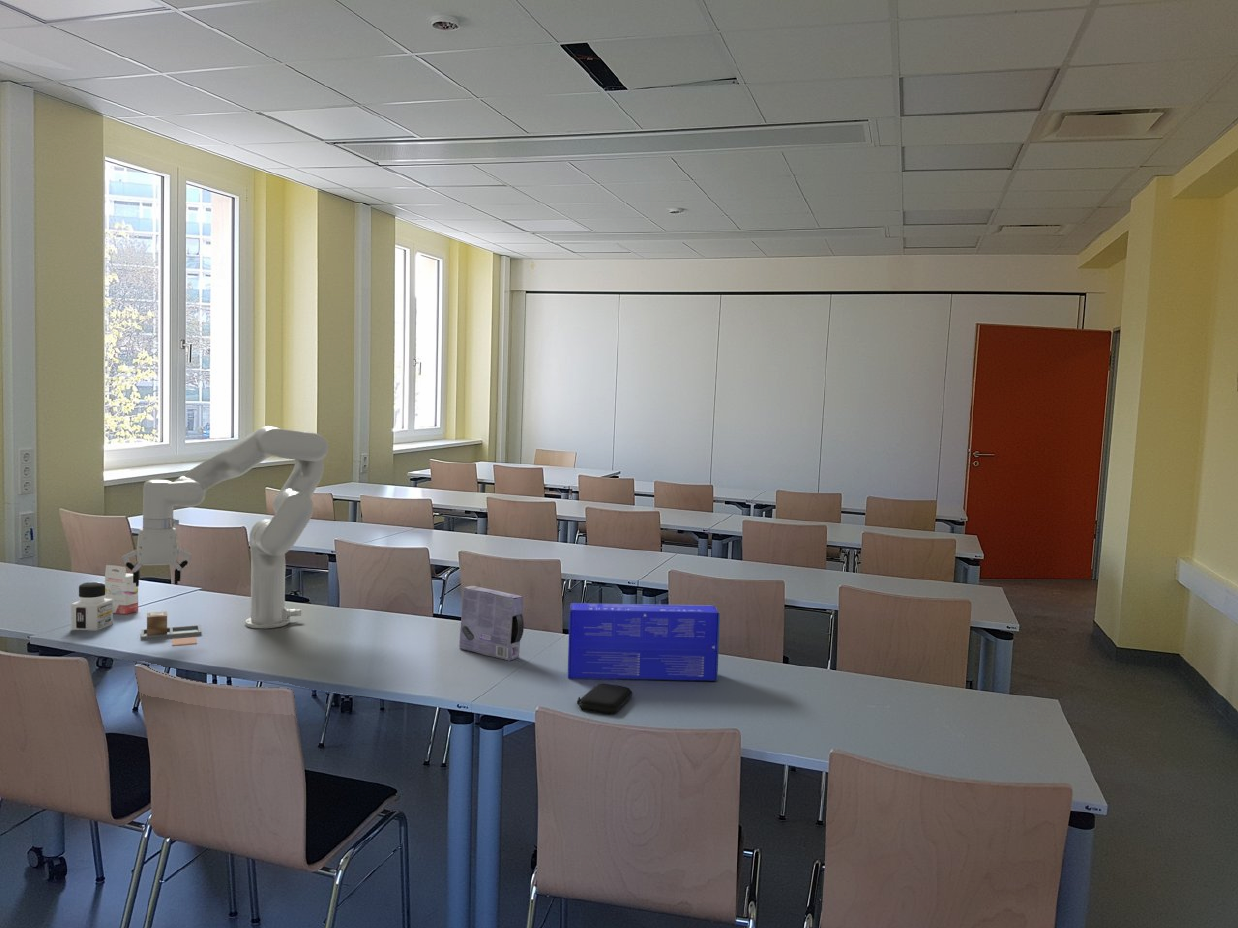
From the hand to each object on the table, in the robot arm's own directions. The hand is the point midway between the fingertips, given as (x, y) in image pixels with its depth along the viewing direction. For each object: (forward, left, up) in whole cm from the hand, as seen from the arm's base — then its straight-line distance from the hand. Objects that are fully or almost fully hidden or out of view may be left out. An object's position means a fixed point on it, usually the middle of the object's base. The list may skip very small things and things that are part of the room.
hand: (156, 584), depth 246 cm
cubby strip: (-4, 0, -15) cm, 15 cm away
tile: (-7, +9, -15) cm, 19 cm away
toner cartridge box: (-112, +80, -15) cm, 138 cm away
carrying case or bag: (-93, +94, -15) cm, 133 cm away
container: (+16, -16, -15) cm, 27 cm away
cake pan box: (-82, +48, -15) cm, 96 cm away
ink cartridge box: (+9, -33, -15) cm, 37 cm away
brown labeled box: (0, 0, -15) cm, 15 cm away
